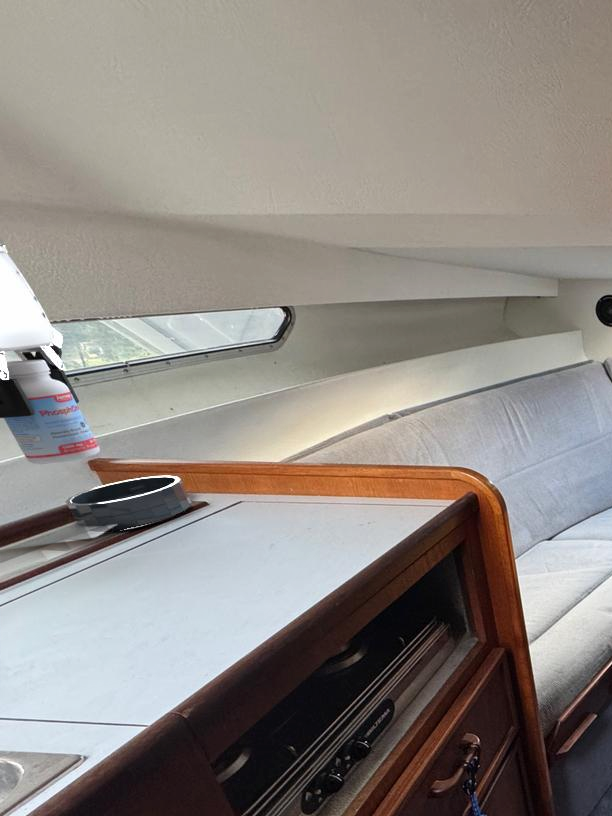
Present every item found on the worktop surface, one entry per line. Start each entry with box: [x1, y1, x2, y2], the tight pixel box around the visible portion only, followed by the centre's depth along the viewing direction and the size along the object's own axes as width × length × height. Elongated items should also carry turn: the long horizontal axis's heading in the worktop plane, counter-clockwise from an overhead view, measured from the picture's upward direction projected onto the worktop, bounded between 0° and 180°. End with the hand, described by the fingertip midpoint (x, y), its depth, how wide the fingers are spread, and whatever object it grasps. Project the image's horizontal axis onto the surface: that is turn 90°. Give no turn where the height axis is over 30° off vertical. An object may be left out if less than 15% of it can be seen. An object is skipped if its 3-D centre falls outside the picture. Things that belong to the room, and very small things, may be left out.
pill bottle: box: [3, 360, 101, 465], centre depth 66 cm, size 6×6×11 cm
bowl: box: [64, 475, 193, 534], centre depth 90 cm, size 13×13×5 cm
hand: (39, 408), depth 66 cm, fingers closed on pill bottle, 6 cm apart
